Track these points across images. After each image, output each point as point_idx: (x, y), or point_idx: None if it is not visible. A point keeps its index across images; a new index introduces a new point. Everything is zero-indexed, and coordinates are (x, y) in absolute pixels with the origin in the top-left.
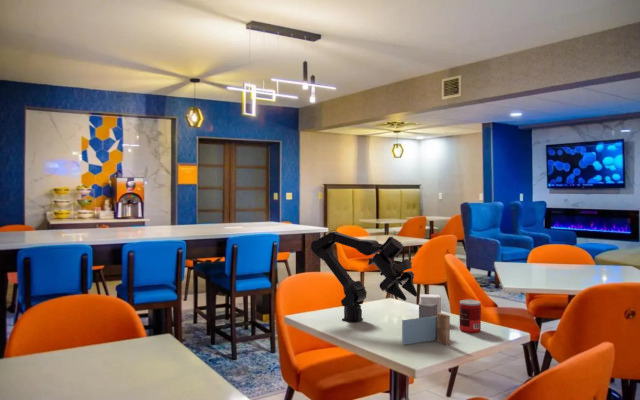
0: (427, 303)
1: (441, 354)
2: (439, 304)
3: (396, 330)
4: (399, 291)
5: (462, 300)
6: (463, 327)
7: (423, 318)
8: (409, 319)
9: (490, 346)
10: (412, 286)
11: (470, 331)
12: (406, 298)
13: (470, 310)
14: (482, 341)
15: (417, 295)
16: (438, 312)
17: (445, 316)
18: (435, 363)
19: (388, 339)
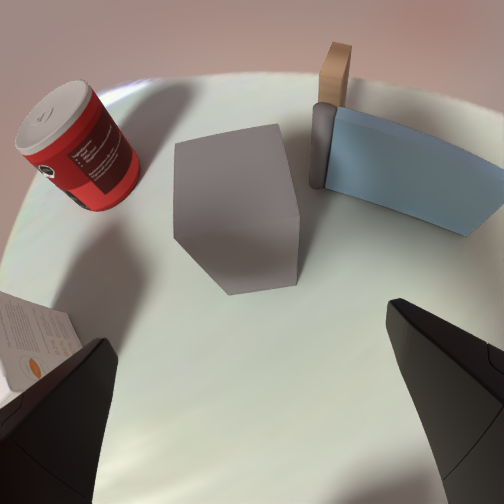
0: (206, 192)
1: (417, 112)
2: (11, 300)
3: (319, 407)
4: (493, 359)
5: (31, 144)
6: (131, 171)
7: (416, 131)
8: (486, 170)
9: (242, 72)
10: (39, 410)
11: (137, 157)
12: (395, 299)
13: (101, 103)
14: (209, 98)
15: (103, 340)
16: (41, 313)
17: (350, 51)
18: (467, 103)
19: (460, 323)
